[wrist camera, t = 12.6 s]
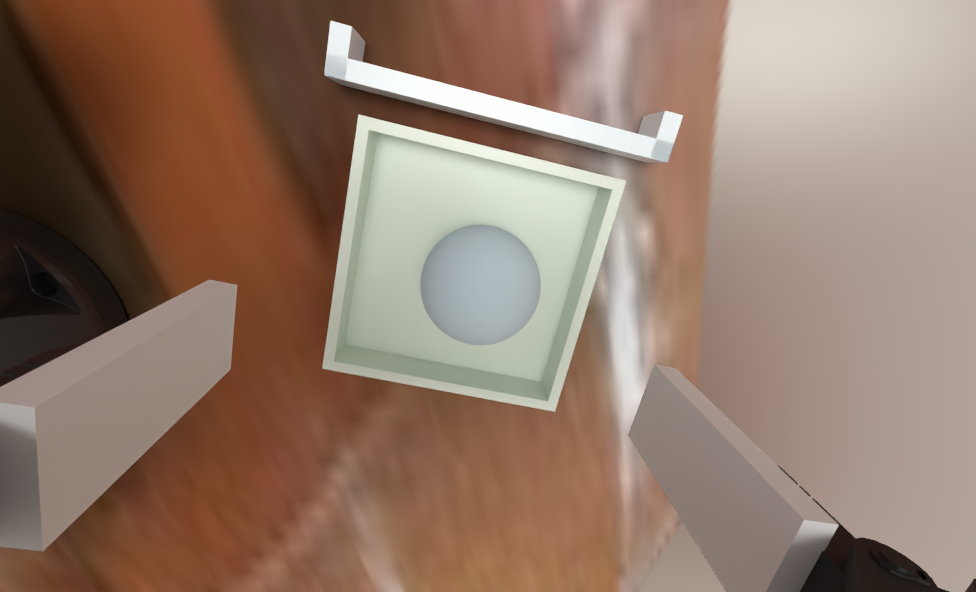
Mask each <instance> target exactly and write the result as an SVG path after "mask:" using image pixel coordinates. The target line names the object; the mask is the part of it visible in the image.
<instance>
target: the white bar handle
mask: <svg viewBox="0 0 976 592" xmlns="http://www.w3.org/2000/svg"><path fill="white" fill-rule="evenodd" d="M364 49H365V41H364V40H363V39H362V38H361V36H360V35H359V34H358V33H357V32H356V31H355V29H354V28H353V27H352V26H349V25H345V24H341V23H338V22H334V21H331V22H330V30H329V38H328V47H327V55H326V63H325V72H324V75H325V76H327V77H328V78H330V79H332V80H333V81H335V82H337V83H338V84H340V85H343V86H347V87H351V88H355V89H359V90H363V91H367V92H371V93H375V94H379V95H383V96H387V97H391V98H395V99H399V100H402V101H406V102H410V103H414V104H418V105H422V106H426V107H430V108H434V109H438V110H442V111H446V112H450V113H454V114H458V115H461V116H465V117H469V118H473V119H477V120H481V121H485V122H489V123H493V124H497V125H501V126H505V127H509V128H513V129H517V130H520V131H524V132H528V133H532V134H536V135H540V136H544V137H548V138H552V139H556V140H560V141H564V142H568V143H572V144H576V145H579V146H583V147H587V148H591V149H595V150H599V151H603V152H607V153H611V154H615V155H619V156H623V157H627V158H631V159H635V160H638V161H642V162H653V163H668V160H669V157H670V154H671V151H672V148H673V145H674V142H675V139H676V136H677V133H678V130H679V127H680V124H681V120H682V117H683V115H679V114H676V113H672V112H668V111H662V112H658V113H654V114H650V115H645V116H643V118H642V121H641V125H640V128H639V131H638V134H636V133H632V132H628V131H625V130H621V129H617V128H613V127H609V126H605V125H602V124H598V123H594V122H590V121H586V120H583V119H579V118H575V117H571V116H567V115H563V114H560V113H556V112H552V111H548V110H544V109H540V108H537V107H533V106H529V105H525V104H521V103H517V102H514V101H510V100H506V99H502V98H498V97H494V96H491V95H487V94H483V93H479V92H475V91H471V90H468V89H464V88H460V87H456V86H452V85H448V84H445V83H441V82H437V81H433V80H429V79H425V78H422V77H418V76H414V75H410V74H406V73H403V72H399V71H395V70H391V69H387V68H383V67H380V66H376V65H372V64H368V63H364V62H363V56H364Z"/></svg>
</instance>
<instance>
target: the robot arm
mask: <svg viewBox="0 0 976 592" xmlns="http://www.w3.org/2000/svg"><path fill="white" fill-rule="evenodd" d="M236 295H237V285H235V284H230V283H225V282H220V281H214V280H207V281H206V282H204V283H202V284H200V285H198V286H196V287H194V288H192V289H190V290H188V291H186V292H184V293H182V294H180V295H178V296H176V297H174V298H172V299H171V300H169V301H167V302H165V303H163V304H161V305H159V306H157V307H155V308H153V309H151V310H149V311H147V312H145V313H143V314H141V315H139V316H137V317H136V318H134V319H132V320H130V321H128V320H127V317H126V314H125V312H124V309H123V307H122V305H121V303H120V301H119V299H118V297H117V295H116V293H115V292H114V290H113V288H112V287H111V285H110V284H109V282H108V281H107V280H106V278H105V277H104V276H103V274H102V273H101V272H100V271H99V269H98V268H97V267H96V266H95V265H94V264H93V263H92V262H91V261H90V260H89V259H88V258H87V257H86V256H85V255H84V254H83V253H82V252H81V251H79V250H78V249H77V248H76V247H75V246H73V245H72V244H71V243H69V242H68V241H67V240H66V239H64V238H63V237H61V236H60V235H58V234H57V233H55V232H53V231H52V230H50V229H48V228H46V227H45V226H43V225H41V224H39V223H37V222H35V221H32V220H30V219H28V218H26V217H23V216H20V215H18V214H15V213H12V212H8V211H5V210H1V209H0V547H6V548H16V549H25V550H35V551H44V550H45V549H46V548H47V547H48V546H49V545H50V544H51V543H52V542H53V541H54V540H55V539H56V538H57V537H58V536H59V535H60V534H61V533H62V532H64V531H65V530H66V529H67V528H68V527H69V526H70V525H71V524H72V523H73V522H74V521H75V520H76V519H77V518H78V517H79V516H80V515H81V514H82V513H83V512H84V511H85V510H86V509H87V508H88V507H89V506H90V505H91V504H92V503H93V502H94V501H96V500H97V499H98V498H99V497H100V496H101V495H102V494H103V493H104V492H105V491H106V490H107V489H108V488H109V487H110V486H111V485H112V484H113V483H114V482H115V481H116V480H117V479H118V478H119V477H120V476H121V475H122V474H123V473H124V472H125V471H126V470H128V469H129V468H130V467H131V466H132V465H133V464H134V463H135V462H136V461H137V460H138V459H139V458H140V457H141V456H142V455H143V454H144V453H145V452H146V451H147V450H148V449H149V448H150V447H151V446H152V445H153V444H154V443H155V442H156V441H157V440H158V439H159V438H161V437H162V436H163V435H164V434H165V433H166V432H167V431H168V430H169V429H170V428H171V427H172V426H173V425H174V424H175V423H176V422H177V421H178V420H179V419H180V418H181V417H182V416H183V415H184V414H185V413H186V412H187V411H188V410H189V409H190V408H191V407H193V406H194V405H195V404H196V403H197V402H198V401H199V400H200V399H201V398H202V397H203V396H204V395H205V394H206V393H207V392H208V391H209V390H210V389H211V388H212V387H213V386H214V385H215V384H216V383H217V382H218V381H219V380H220V379H221V378H222V377H223V376H224V375H226V374H227V373H228V372H229V371H230V370H231V359H232V346H233V333H234V321H235V308H236ZM628 436H629V437H630V439H631V440H632V442H633V444H634V445H635V447H636V448H637V450H638V452H639V453H640V455H641V456H642V458H643V460H644V461H645V463H646V464H647V466H648V468H649V469H650V471H651V472H652V474H653V476H654V477H655V479H656V480H657V482H658V484H659V485H660V487H661V488H662V490H663V492H664V493H665V495H666V496H667V498H668V500H669V501H670V503H671V504H672V506H673V508H674V509H675V511H676V512H677V514H678V516H679V517H680V519H681V520H682V522H683V524H684V525H685V527H686V528H687V530H688V532H689V533H690V535H691V536H692V538H693V539H694V541H695V543H696V544H697V546H698V547H699V549H700V551H701V552H702V554H703V555H704V557H705V559H706V560H707V562H708V563H709V565H710V567H711V568H712V570H713V571H714V573H715V575H716V576H717V578H718V579H719V581H720V583H721V584H722V586H723V587H724V589H725V591H726V592H949V591H946V590H943V589H940V588H938V587H937V586H936V584H935V583H934V581H933V580H932V578H931V577H930V576H929V575H928V574H927V573H926V572H925V571H924V570H922V569H921V568H920V567H919V566H918V565H917V564H915V563H914V562H913V561H911V560H910V559H908V558H907V557H906V556H904V555H903V554H901V553H899V552H897V551H896V550H894V549H892V548H890V547H889V546H887V545H884V544H882V543H879V542H877V541H875V540H871V539H866V538H857V539H856V538H854V537H853V536H852V535H851V534H850V533H849V532H848V531H847V530H846V529H845V528H844V527H843V526H842V525H841V524H840V523H839V522H838V521H837V520H836V519H835V518H834V517H832V516H831V515H830V514H829V513H828V512H827V511H826V510H825V509H824V508H823V507H822V506H821V505H820V504H819V503H818V502H817V501H815V499H812V498H811V497H810V495H809V494H808V493H807V492H806V491H805V490H804V489H803V488H802V487H801V486H798V485H797V484H798V483H797V482H796V481H795V480H794V479H793V478H792V477H790V476H789V475H788V474H787V473H786V472H785V471H784V470H783V469H782V468H780V467H779V466H777V465H776V464H775V463H774V462H773V461H772V460H771V459H770V458H769V457H768V456H767V455H766V454H764V452H762V451H761V450H760V449H759V448H758V447H757V446H756V445H755V444H754V443H753V442H752V441H751V440H750V439H749V438H748V437H747V436H746V435H745V434H744V433H742V432H741V431H740V429H738V428H737V427H736V426H735V425H734V424H733V423H732V422H731V421H730V420H729V419H728V418H727V417H726V416H725V415H724V414H723V413H722V412H721V411H720V410H719V409H718V408H717V407H715V406H714V405H713V404H712V403H711V402H710V401H709V400H708V399H707V398H706V397H705V396H704V395H703V394H702V393H701V392H700V391H699V390H698V389H697V388H696V387H695V386H694V385H693V384H692V383H691V382H689V381H688V380H687V379H686V378H685V377H684V376H683V375H682V374H681V373H680V372H679V371H678V370H677V369H676V368H671V367H666V366H661V365H656V364H654V367H653V370H652V372H651V375H650V378H649V381H648V383H647V386H646V389H645V391H644V394H643V397H642V399H641V402H640V405H639V408H638V410H637V413H636V416H635V418H634V421H633V424H632V426H631V429H630V432H629V435H628ZM966 592H976V579H974V580H973V581H972V583H971V584H970V586H969V587H968V589H967V590H966Z"/></svg>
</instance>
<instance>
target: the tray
mask: <svg viewBox="0 0 976 592" xmlns="http://www.w3.org/2000/svg"><path fill="white" fill-rule="evenodd" d="M625 184H626V181H624V180H620V179H616V178H612V177H608V176H604V175H600V174H596V173H592V172H588V171H584V170H580V169H576V168H572V167H568V166H564V165H560V164H556V163H552V162H548V161H544V160H540V159H536V158H532V157H528V156H524V155H520V154H516V153H512V152H508V151H504V150H500V149H495V148H491V147H487V146H483V145H479V144H475V143H471V142H467V141H463V140H459V139H455V138H451V137H447V136H443V135H439V134H435V133H431V132H427V131H423V130H419V129H415V128H411V127H407V126H403V125H399V124H395V123H391V122H387V121H383V120H379V119H375V118H371V117H366V116H362V115H358V122H357V129H356V136H355V143H354V150H353V157H352V164H351V171H350V178H349V185H348V192H347V199H346V206H345V213H344V220H343V227H342V234H341V241H340V248H339V255H338V262H337V269H336V276H335V283H334V290H333V297H332V304H331V311H330V318H329V325H328V332H327V339H326V346H325V353H324V360H323V367H322V369H327V370H332V371H337V372H343V373H348V374H354V375H359V376H365V377H370V378H375V379H381V380H386V381H392V382H397V383H402V384H408V385H413V386H419V387H424V388H430V389H435V390H440V391H446V392H451V393H457V394H462V395H467V396H473V397H478V398H484V399H489V400H495V401H500V402H505V403H511V404H516V405H522V406H527V407H532V408H538V409H543V410H549V411H554V412H555V410H556V406H557V403H558V400H559V397H560V393H561V390H562V387H563V384H564V381H565V377H566V374H567V371H568V368H569V364H570V361H571V358H572V355H573V351H574V348H575V345H576V342H577V339H578V335H579V332H580V329H581V326H582V322H583V319H584V316H585V313H586V310H587V306H588V303H589V300H590V297H591V293H592V290H593V287H594V284H595V281H596V277H597V274H598V271H599V268H600V264H601V261H602V258H603V255H604V251H605V248H606V245H607V242H608V239H609V235H610V232H611V229H612V226H613V222H614V219H615V216H616V213H617V210H618V206H619V203H620V200H621V197H622V193H623V190H624V187H625ZM473 225H488V226H494V227H498V228H501V229H503V230H505V231H508V232H510V233H511V234H513V235H515V236H516V237H517V238H518V239H520V240H521V241H522V242H523V243H524V244H525V245H526V246H527V247H528V249H529V250H530V252H531V253H532V255H533V257H534V259H535V261H536V263H537V266H538V269H539V274H540V281H541V290H540V297H539V301H538V304H537V307H536V310H535V312H534V314H533V316H532V317H531V319H530V320H529V322H528V323H527V324H526V325H525V326H524V327H523V328H522V329H521V330H520V331H519V332H518V333H516V334H515V335H514V336H512V337H510V338H509V339H506V340H504V341H502V342H499V343H495V344H491V345H471V344H466V343H462V342H459V341H457V340H455V339H453V338H451V337H449V336H448V335H446V334H445V333H443V332H442V331H441V330H440V329H439V328H438V327H437V326H436V325H435V324H434V323H433V322H432V320H431V318H430V317H429V315H428V314H427V312H426V310H425V307H424V304H423V301H422V297H421V290H420V280H421V273H422V269H423V266H424V263H425V261H426V258H427V257H428V255H429V253H430V251H431V250H432V249H433V248H434V246H435V245H436V244H437V243H438V242H439V241H440V240H441V239H442V238H444V237H445V236H446V235H448V234H450V233H451V232H453V231H455V230H458V229H460V228H463V227H467V226H473Z"/></svg>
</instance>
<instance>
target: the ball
mask: <svg viewBox="0 0 976 592" xmlns="http://www.w3.org/2000/svg"><path fill="white" fill-rule="evenodd" d="M420 290H421V297H422V301H423V304H424V307H425V310H426V312H427V314H428V315H429V317H430V318H431V320H432V322H433V323H434V324H435V325H436V326H437V327H438V328H439V329H440V330H441V331H442V332H443V333H445V334H446V335H448V336H449V337H451V338H453V339H455V340H457V341H459V342H462V343H466V344H471V345H491V344H495V343H499V342H502V341H504V340H506V339H509V338H510V337H512V336H514V335H515V334H516V333H518V332H519V331H520V330H521V329H522V328H523V327H524V326H525V325H526V324H527V323H528V322H529V320H530V319H531V317H532V316H533V314H534V312H535V310H536V307H537V304H538V301H539V297H540V290H541V281H540V274H539V269H538V266H537V263H536V261H535V259H534V257H533V255H532V253H531V252H530V250H529V249H528V247H527V246H526V245H525V244H524V243H523V242H522V241H521V240H520V239H518V238H517V237H516V236H515V235H513V234H511V233H510V232H508V231H505V230H503V229H501V228H498V227H494V226H488V225H473V226H467V227H463V228H460V229H458V230H455V231H453V232H451V233H450V234H448V235H446V236H445V237H444V238H442V239H441V240H440V241H439V242H438V243H437V244H436V245H435V246H434V248H433V249H432V250H431V251H430V253H429V255H428V257H427V258H426V261H425V263H424V266H423V269H422V273H421V280H420Z"/></svg>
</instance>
